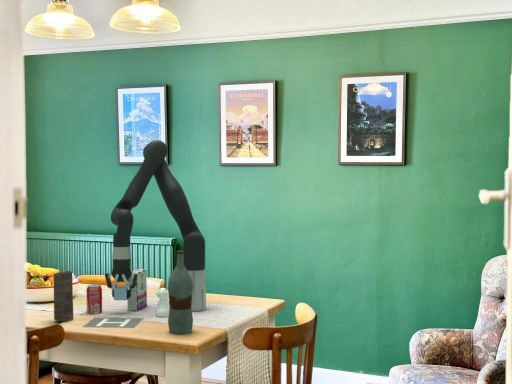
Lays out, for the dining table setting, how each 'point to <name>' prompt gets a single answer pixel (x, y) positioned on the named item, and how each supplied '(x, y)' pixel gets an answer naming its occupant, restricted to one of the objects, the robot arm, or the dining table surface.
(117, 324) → the letter board
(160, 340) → the dining table surface
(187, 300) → the bottle
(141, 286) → the candy bar box
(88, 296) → the soda can
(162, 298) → the seated beast figurine
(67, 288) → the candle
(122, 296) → the blue block
